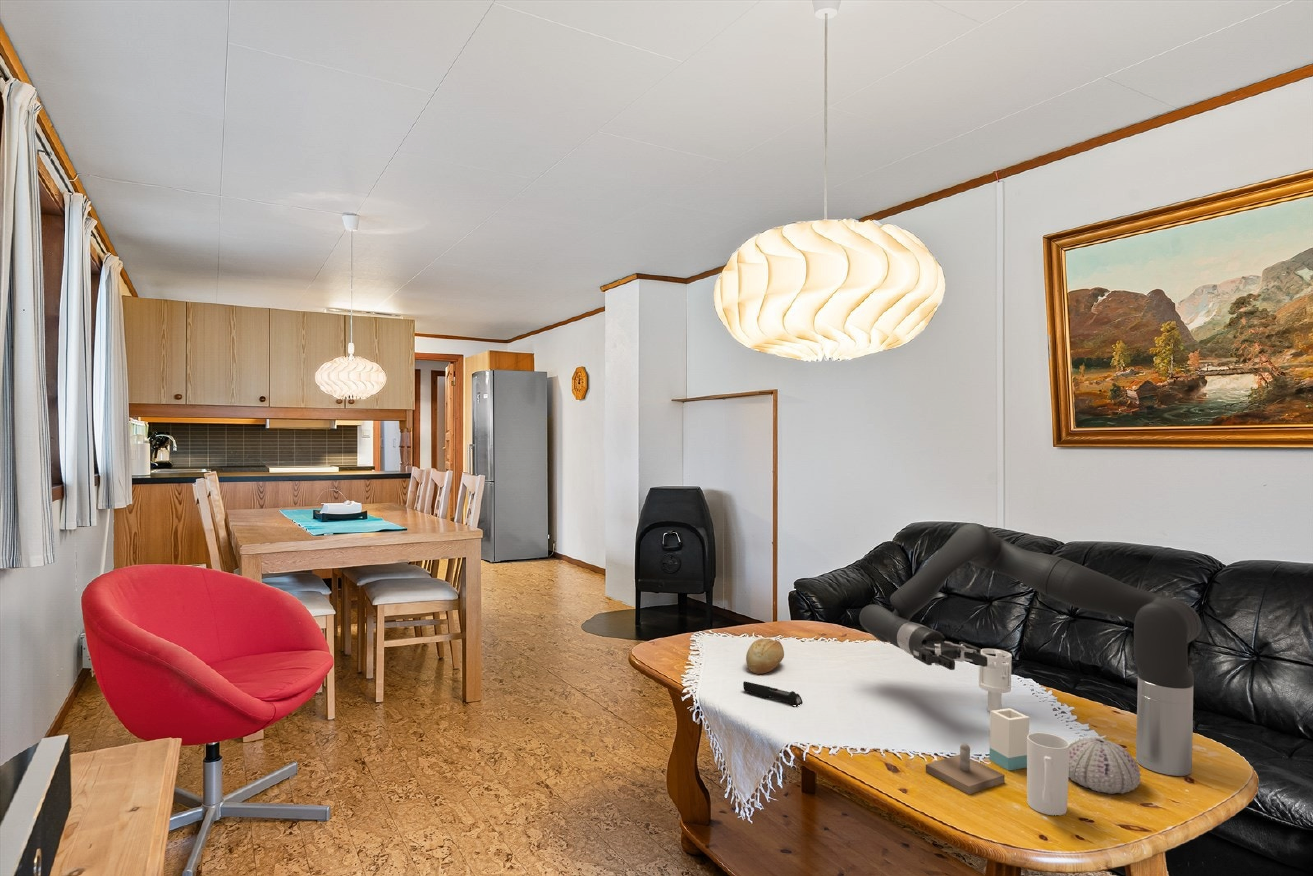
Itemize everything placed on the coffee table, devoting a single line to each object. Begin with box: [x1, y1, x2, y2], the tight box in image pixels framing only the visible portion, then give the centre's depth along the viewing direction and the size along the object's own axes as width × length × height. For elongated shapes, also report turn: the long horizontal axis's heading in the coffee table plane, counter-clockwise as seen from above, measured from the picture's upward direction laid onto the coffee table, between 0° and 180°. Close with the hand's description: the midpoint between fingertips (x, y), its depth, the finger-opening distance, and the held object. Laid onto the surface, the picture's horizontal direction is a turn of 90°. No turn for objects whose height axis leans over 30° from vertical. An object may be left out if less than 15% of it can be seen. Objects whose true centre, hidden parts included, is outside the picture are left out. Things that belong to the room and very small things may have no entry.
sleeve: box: [988, 707, 1030, 771], centre depth 150 cm, size 5×5×10 cm
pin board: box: [925, 742, 1006, 795], centre depth 144 cm, size 10×10×6 cm
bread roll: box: [745, 638, 785, 675], centre depth 208 cm, size 10×15×8 cm, turn 154°
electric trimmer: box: [742, 680, 804, 707], centre depth 185 cm, size 4×16×3 cm, turn 53°
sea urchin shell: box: [1068, 736, 1142, 795], centre depth 143 cm, size 13×14×8 cm
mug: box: [1026, 732, 1071, 817], centre depth 132 cm, size 10×7×12 cm, turn 152°
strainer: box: [978, 648, 1013, 713], centre depth 178 cm, size 7×7×15 cm
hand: (970, 663), depth 161 cm, fingers open, 8 cm apart
